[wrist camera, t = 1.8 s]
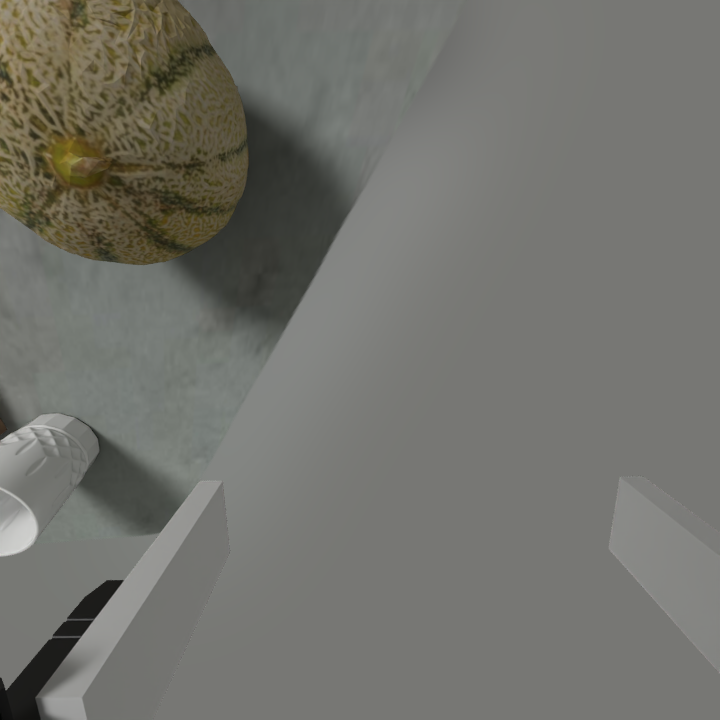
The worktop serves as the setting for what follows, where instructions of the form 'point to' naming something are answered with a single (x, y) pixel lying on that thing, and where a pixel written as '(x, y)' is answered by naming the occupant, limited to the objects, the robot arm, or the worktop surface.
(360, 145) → the worktop surface
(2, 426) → the board
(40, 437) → the white cup
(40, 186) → the cantaloupe
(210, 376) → the worktop surface
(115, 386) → the worktop surface
